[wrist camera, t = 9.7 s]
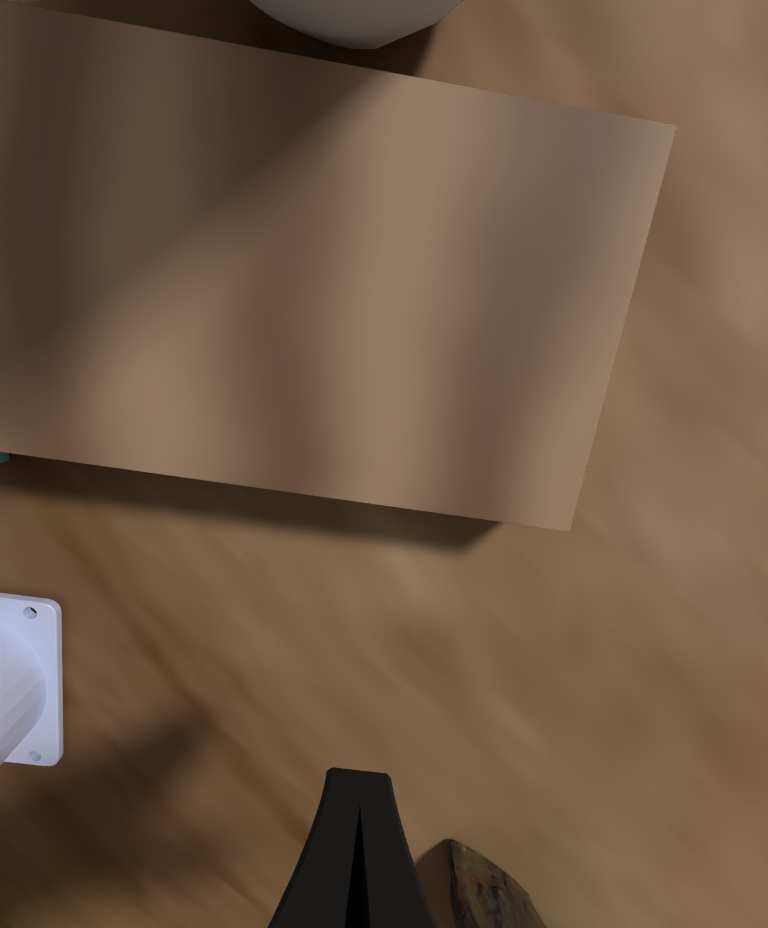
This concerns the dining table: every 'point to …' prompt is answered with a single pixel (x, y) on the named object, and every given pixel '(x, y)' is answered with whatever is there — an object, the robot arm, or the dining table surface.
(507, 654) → the dining table surface
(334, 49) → the dining table surface
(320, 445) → the tan flat block
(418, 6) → the glass bottle
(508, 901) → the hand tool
